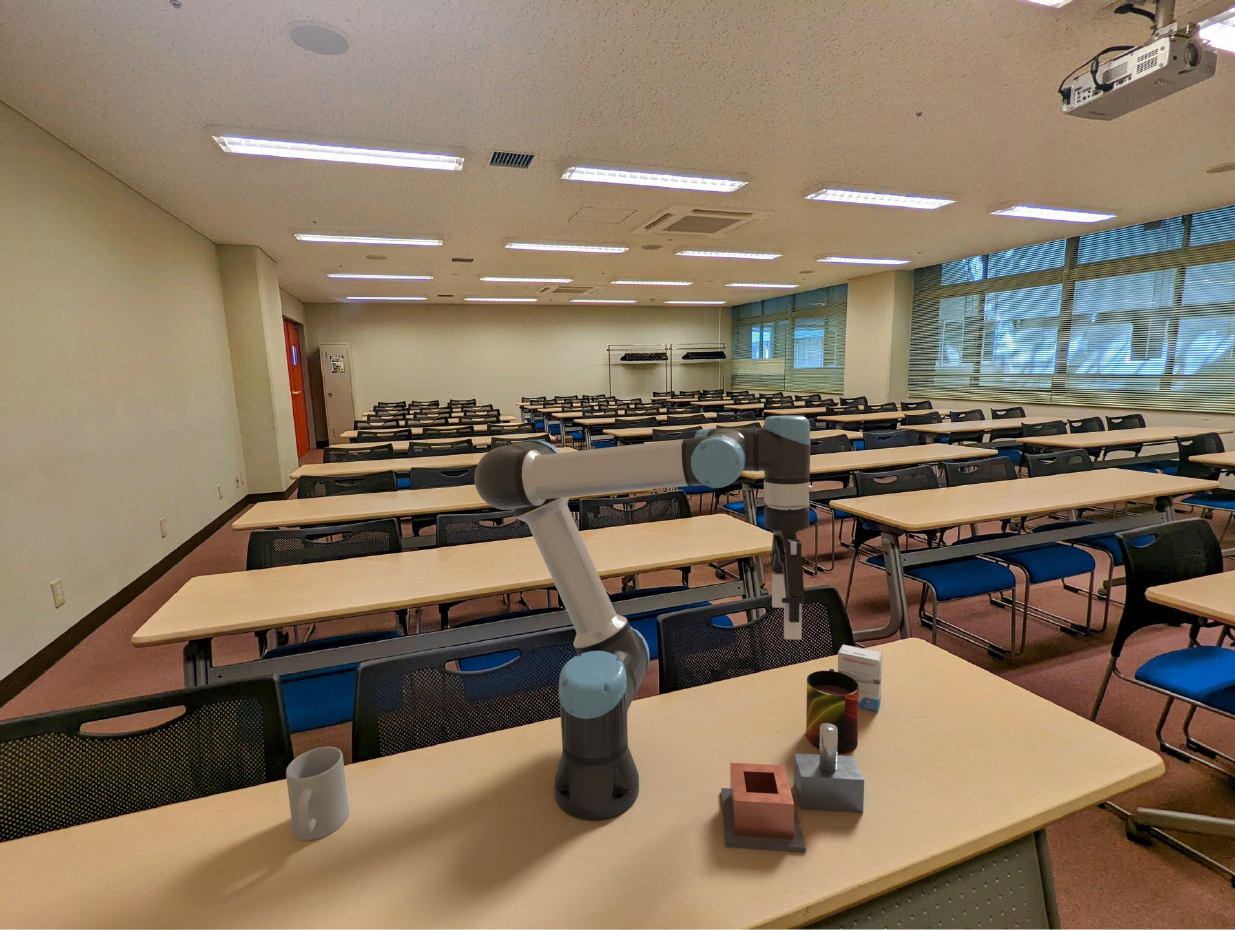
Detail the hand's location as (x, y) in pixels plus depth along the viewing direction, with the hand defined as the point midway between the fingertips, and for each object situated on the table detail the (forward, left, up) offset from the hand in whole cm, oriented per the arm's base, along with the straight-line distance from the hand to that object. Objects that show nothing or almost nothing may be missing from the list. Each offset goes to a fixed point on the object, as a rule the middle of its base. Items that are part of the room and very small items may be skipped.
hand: (785, 621), depth 101 cm
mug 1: (-79, -21, -29) cm, 87 cm away
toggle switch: (+6, -7, -29) cm, 30 cm away
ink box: (+20, +24, -29) cm, 43 cm away
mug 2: (+10, +12, -29) cm, 33 cm away
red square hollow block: (-6, -13, -28) cm, 31 cm away
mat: (-6, -13, -29) cm, 32 cm away
